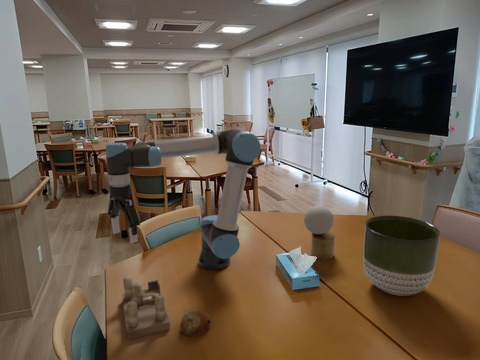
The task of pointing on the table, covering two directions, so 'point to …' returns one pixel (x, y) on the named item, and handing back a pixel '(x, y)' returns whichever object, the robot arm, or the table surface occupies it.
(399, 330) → the table surface
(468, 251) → the table surface
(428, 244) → the planter
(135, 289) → the hinged leg
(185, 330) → the bread roll
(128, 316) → the peg board
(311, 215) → the lamp
